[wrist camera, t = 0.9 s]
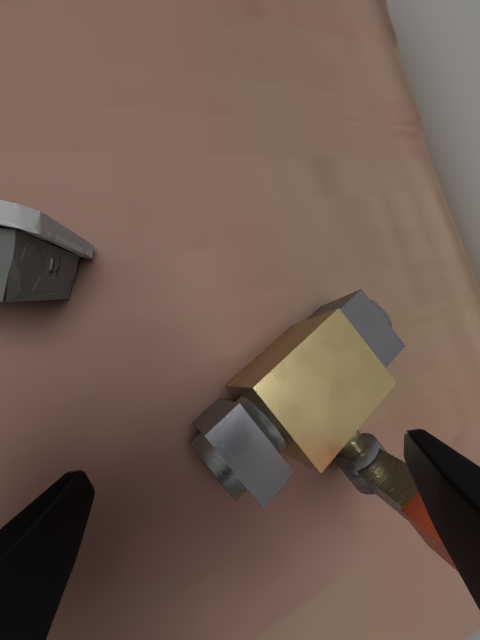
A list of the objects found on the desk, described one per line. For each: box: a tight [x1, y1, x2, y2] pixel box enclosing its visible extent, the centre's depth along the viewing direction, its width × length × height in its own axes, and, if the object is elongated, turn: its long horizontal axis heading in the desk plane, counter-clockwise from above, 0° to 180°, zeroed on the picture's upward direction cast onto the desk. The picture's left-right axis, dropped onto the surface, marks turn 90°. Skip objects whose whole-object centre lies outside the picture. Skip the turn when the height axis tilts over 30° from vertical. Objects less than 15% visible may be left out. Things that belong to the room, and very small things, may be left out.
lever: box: [336, 433, 458, 571], centre depth 14 cm, size 3×2×14 cm
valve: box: [191, 289, 405, 509], centre depth 19 cm, size 15×8×6 cm, turn 130°
